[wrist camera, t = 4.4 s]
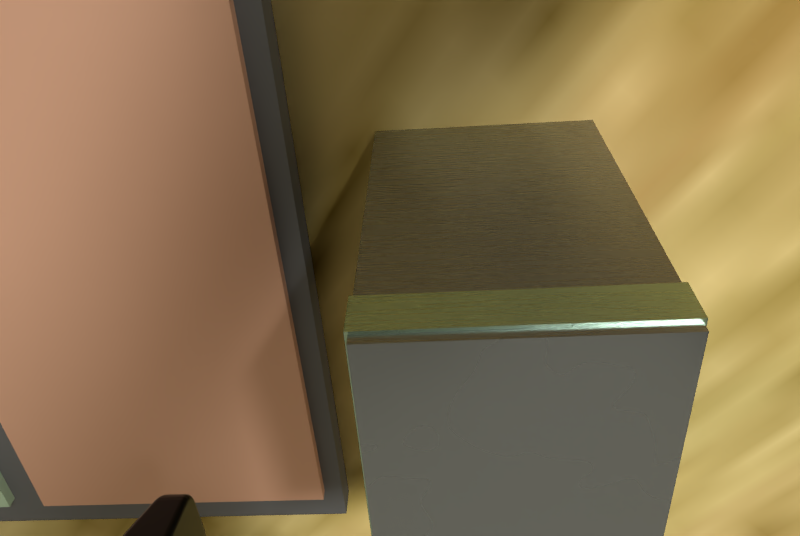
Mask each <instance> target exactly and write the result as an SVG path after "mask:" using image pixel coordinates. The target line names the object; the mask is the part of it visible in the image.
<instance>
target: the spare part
mask: <svg viewBox="0 0 800 536" xmlns="http://www.w3.org/2000/svg"><path fill="white" fill-rule="evenodd" d="M707 321H708V317H707V315H706V314H705V312H704V310H703V308H702V307H701V305H700V303H699V301H698V299H697V298H696V296H695V294H694V292H693V291H692V289H691V287H690V285H689V283H688V282H681V280H680V278H679V276H678V275H677V273H676V271H675V269H674V267H673V266H672V264H671V262H670V260H669V258H668V256H667V255H666V253H665V251H664V249H663V247H662V246H661V244H660V242H659V240H658V238H657V236H656V235H655V233H654V231H653V229H652V227H651V226H650V224H649V222H648V220H647V218H646V216H645V215H644V213H643V211H642V209H641V207H640V205H639V204H638V202H637V200H636V198H635V196H634V195H633V193H632V191H631V189H630V187H629V185H628V184H627V182H626V180H625V178H624V176H623V175H622V173H621V171H620V169H619V167H618V165H617V164H616V162H615V160H614V158H613V156H612V155H611V153H610V151H609V149H608V147H607V145H606V144H605V142H604V140H603V138H602V136H601V135H600V133H599V131H598V129H597V127H596V125H595V124H594V122H593V120H584V121H565V122H546V123H527V124H508V125H489V126H470V127H450V128H431V129H412V130H393V131H375V137H374V145H373V152H372V159H371V167H370V174H369V181H368V189H367V196H366V203H365V211H364V218H363V225H362V233H361V240H360V247H359V254H358V262H357V269H356V276H355V284H354V291H353V296H348V303H347V310H346V316H345V323H344V330H343V334H344V341H345V348H346V355H347V362H348V370H349V377H350V384H351V391H352V398H353V405H354V413H355V420H356V427H357V434H358V441H359V449H360V456H361V463H362V470H363V477H364V485H365V492H366V499H367V506H368V513H369V520H370V528H371V535H372V536H664V532H665V527H666V523H667V518H668V513H669V509H670V504H671V500H672V495H673V491H674V486H675V482H676V477H677V473H678V468H679V464H680V459H681V455H682V450H683V446H684V441H685V437H686V432H687V428H688V423H689V419H690V414H691V410H692V405H693V401H694V396H695V392H696V387H697V383H698V378H699V374H700V369H701V365H702V360H703V356H704V351H705V347H706V342H707V338H708V333H709V331H708V329H707V327H706V326H707Z"/></svg>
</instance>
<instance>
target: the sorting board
mask: <svg viewBox="0 0 800 536" xmlns="http://www.w3.org/2000/svg"><path fill="white" fill-rule="evenodd" d="M348 492H349V490H348V484H347V477H346V471H345V465H344V459H343V452H342V446H341V440H340V433H339V427H338V421H337V414H336V408H335V402H334V395H333V389H332V383H331V377H330V370H329V364H328V358H327V351H326V345H325V339H324V332H323V326H322V320H321V313H320V307H319V301H318V295H317V288H316V282H315V276H314V269H313V263H312V257H311V250H310V244H309V238H308V232H307V225H306V219H305V213H304V206H303V200H302V194H301V187H300V181H299V175H298V168H297V162H296V156H295V150H294V143H293V137H292V131H291V124H290V118H289V112H288V105H287V99H286V93H285V86H284V80H283V74H282V68H281V61H280V55H279V49H278V42H277V36H276V30H275V23H274V17H273V11H272V5H271V0H0V521H27V520H72V519H117V518H139V517H140V516H141V515H142V514H143V513H144V512H145V511H146V510H147V508H148V507H149V506H150V505H151V504H152V503H153V502H154V501H155V500H156V499H157V498H159V497H160V496H162V495H167V494H189V495H190V496H192V497H193V499H194V501H195V504H196V507H197V509H198V512H199V515H200V517H207V516H252V515H297V514H342V513H346V511H347V502H348Z"/></svg>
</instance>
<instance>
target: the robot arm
mask: <svg viewBox="0 0 800 536" xmlns="http://www.w3.org/2000/svg"><path fill="white" fill-rule="evenodd" d="M123 536H206V534H205V530H204V527H203V524H202V521H201V518H200V515H199V512H198V509H197V507H196V504H195V501H194V499H193V497H192V496H190V495H189V494H167V495H162V496H160V497H159V498H157V499H156V500H155V501H154V502H153V503H152V504H151V505H150V506H149V507H148V508H147V510H146V511H145V512H144V513H143V514H142V515H141V516H140V517H139V518H138V519H137V520H136V522H135V523H134V524H133V525H132V526H131V527H130V528H129V529H128V530H127V531H126V532H125V534H124V535H123Z"/></svg>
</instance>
